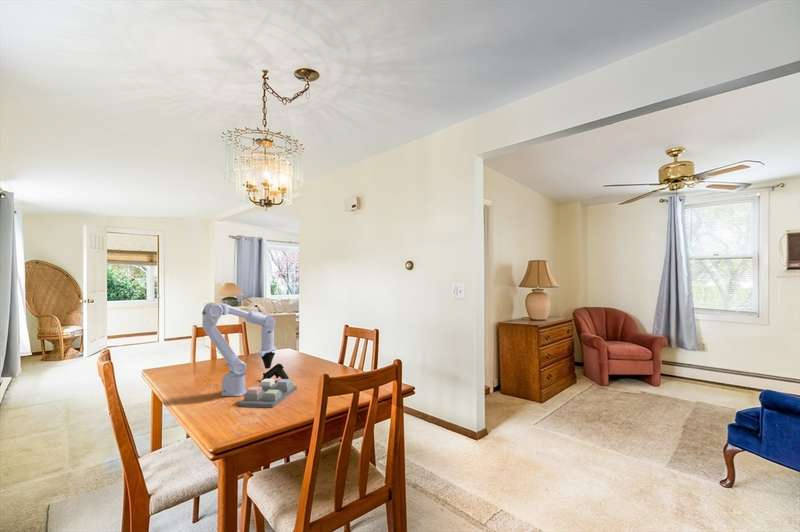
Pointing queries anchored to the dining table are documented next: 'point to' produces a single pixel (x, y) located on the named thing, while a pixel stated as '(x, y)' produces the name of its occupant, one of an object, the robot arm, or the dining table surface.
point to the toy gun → (276, 372)
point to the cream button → (267, 382)
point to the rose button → (254, 390)
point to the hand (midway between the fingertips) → (267, 368)
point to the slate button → (284, 382)
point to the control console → (267, 396)
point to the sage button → (271, 392)
